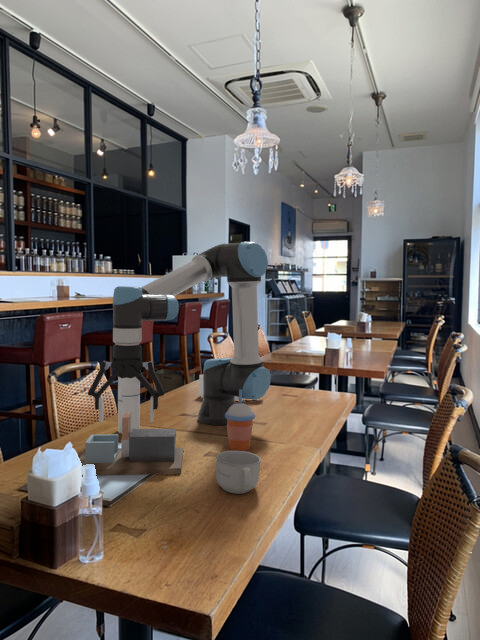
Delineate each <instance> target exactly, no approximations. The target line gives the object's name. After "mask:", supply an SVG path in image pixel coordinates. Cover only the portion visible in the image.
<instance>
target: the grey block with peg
mask: <svg viewBox="0 0 480 640" xmlns="http://www.w3.org/2000/svg"><path fill="white" fill-rule="evenodd" d="M130 434H131V413H125V414H124V416H123V417H122V433H121V443H120V444H121V446H120V448H121V457H129V436H130Z"/></svg>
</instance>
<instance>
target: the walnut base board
mask: <svg viewBox="0 0 480 640" xmlns="http://www.w3.org/2000/svg"><path fill="white" fill-rule="evenodd" d="M183 456H184V447H176V454H175V461H174V462H136V463H129V457H121V447H118V455H117V457H116V459H115V461H114V463H85V449H84V450H83V451H82V453H81V454H80V456H79V457H78V458H80V461H81V463H82V466H83V465H86V464H94V465H95V469H96V474H97V475H96V476H124V475H125V476H127V475H131V476H132V475H133V476H135V475H136V476H137V475H182V470H183V469H182V468H183V467H182V466H183V458H184V457H183Z"/></svg>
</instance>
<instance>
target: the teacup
mask: <svg viewBox="0 0 480 640" xmlns="http://www.w3.org/2000/svg"><path fill="white" fill-rule="evenodd" d="M215 458H216V462H215V479H216V483H218V485H219V486H220V487H221V488H222V489H223V490H224V492H227V493H231V494H237V495H239V494H240V495H241V494H246V493H248V492H251V490H253V489H254V488H255V487H256V486H257V484H258V483H259V478H260V471H261V470H260V469H261V462H262V458H261V457H260V456H259V455H258V454H255V453H252V452H250V451H246V450H244V451H236V450H226V451H225V450H224V451H221V452H219V453H217V454H216V456H215Z"/></svg>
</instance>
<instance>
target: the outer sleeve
mask: <svg viewBox="0 0 480 640" xmlns="http://www.w3.org/2000/svg"><path fill="white" fill-rule="evenodd" d="M176 433H177V429H176V428H140V429H133V430H132V432H131V434H130V436H129V463H136V462H174V461H175V454H176V448H177V443H176V441H177V434H176Z"/></svg>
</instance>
